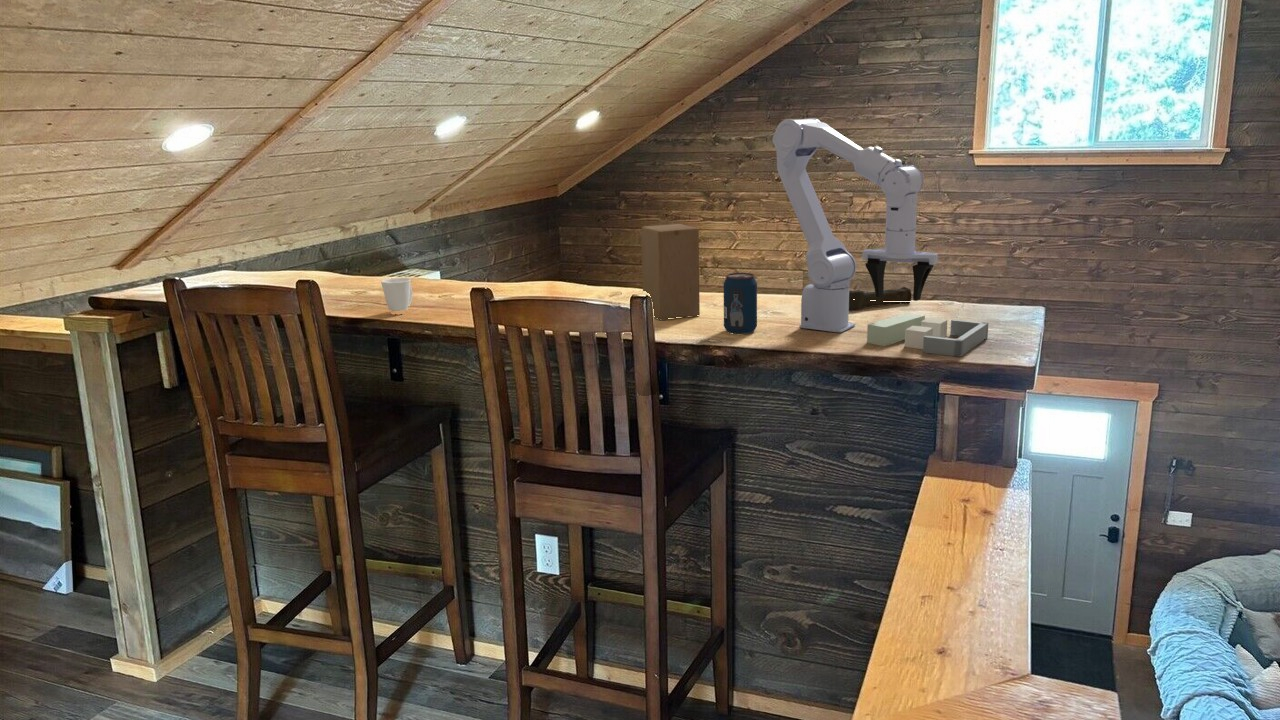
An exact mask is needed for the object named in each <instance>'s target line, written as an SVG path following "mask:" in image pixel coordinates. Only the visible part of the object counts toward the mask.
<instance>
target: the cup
mask: <svg viewBox="0 0 1280 720" xmlns="http://www.w3.org/2000/svg"><path fill="white" fill-rule="evenodd" d="M380 283H381V287H382V290H383V295H384V299H385V303H386V305H387V308H388V310H389V311H390V310H392V311H402V310H407V311H408V309H409V308H408V306H409V307H410V305H411V303H412V300H413V289H412V284H411V278H407V277H392V278H386V279H382V280H381V282H380ZM392 311H391V312H392Z"/></svg>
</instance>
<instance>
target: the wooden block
mask: <svg viewBox="0 0 1280 720" xmlns="http://www.w3.org/2000/svg"><path fill="white" fill-rule="evenodd" d="M699 230H700V229H699V228H698V227H694V226H690V225H687V224H686V225H685V224H684V223H683V224H682V223H670V224H660V225H658V224H657V225H648V226H646V225H645V226H641V230H640V234H641V236H640V237H641V267H642V271H641V273H642V292H643V291H646V292H647V293H649V294H650V296H651V299H652V302H653V309H654V316H655V318H654V319H656V318H658V319H668V318H676V317H687V316H697V315H699V316H700V314H701V312H700V310H701V309H700V253H699V252H700V246H699V245H700V244H699V242H700V241H699V239H700V237H699V235H700V234H699V233H700V232H699ZM697 317H698V316H697ZM658 319H657V320H658Z"/></svg>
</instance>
